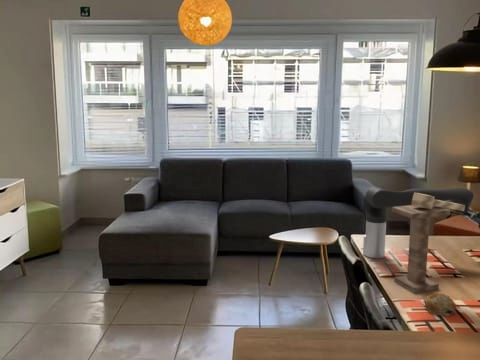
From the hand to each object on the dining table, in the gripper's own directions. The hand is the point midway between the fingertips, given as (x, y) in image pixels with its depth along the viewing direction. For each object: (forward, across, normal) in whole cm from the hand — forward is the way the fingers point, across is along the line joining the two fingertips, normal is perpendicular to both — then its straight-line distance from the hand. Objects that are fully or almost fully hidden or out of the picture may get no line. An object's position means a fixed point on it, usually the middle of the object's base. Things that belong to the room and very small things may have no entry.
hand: (468, 211), depth 194 cm
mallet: (+14, 0, +6) cm, 15 cm away
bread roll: (+13, +21, +41) cm, 48 cm away
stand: (+6, 0, +37) cm, 37 cm away
